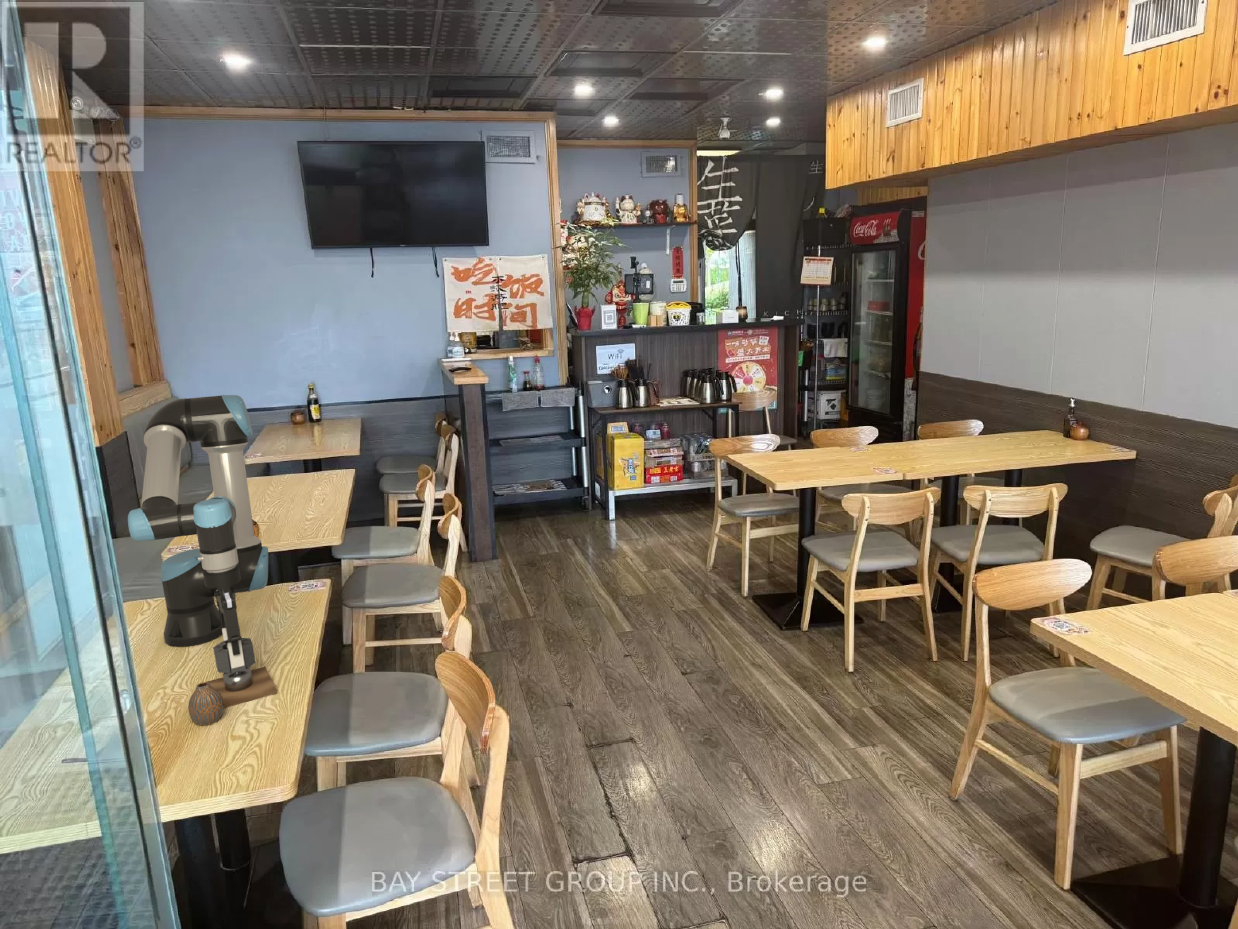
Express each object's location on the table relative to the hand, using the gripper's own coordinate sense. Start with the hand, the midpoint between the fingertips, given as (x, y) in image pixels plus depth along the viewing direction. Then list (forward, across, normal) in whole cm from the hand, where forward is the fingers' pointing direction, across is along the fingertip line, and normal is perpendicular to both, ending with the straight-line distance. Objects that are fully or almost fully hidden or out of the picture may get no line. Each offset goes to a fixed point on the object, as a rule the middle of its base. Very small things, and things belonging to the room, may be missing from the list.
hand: (234, 659), depth 194 cm
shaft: (+7, 0, 0) cm, 7 cm away
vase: (+8, +11, -8) cm, 16 cm away
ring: (+1, 0, 0) cm, 1 cm away
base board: (+8, 0, 0) cm, 8 cm away
